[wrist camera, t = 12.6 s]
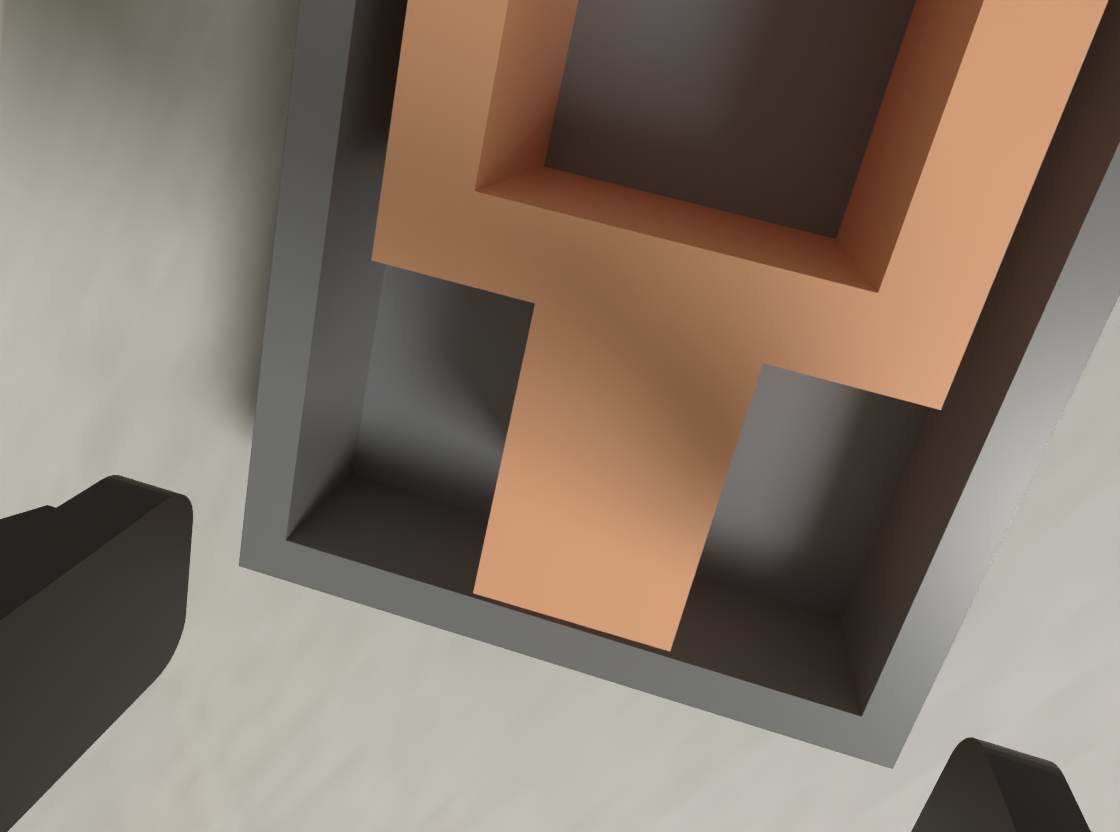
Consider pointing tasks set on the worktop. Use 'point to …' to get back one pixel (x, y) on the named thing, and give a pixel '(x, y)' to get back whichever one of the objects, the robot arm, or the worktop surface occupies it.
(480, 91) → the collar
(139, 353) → the worktop surface
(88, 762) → the worktop surface
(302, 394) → the tray
